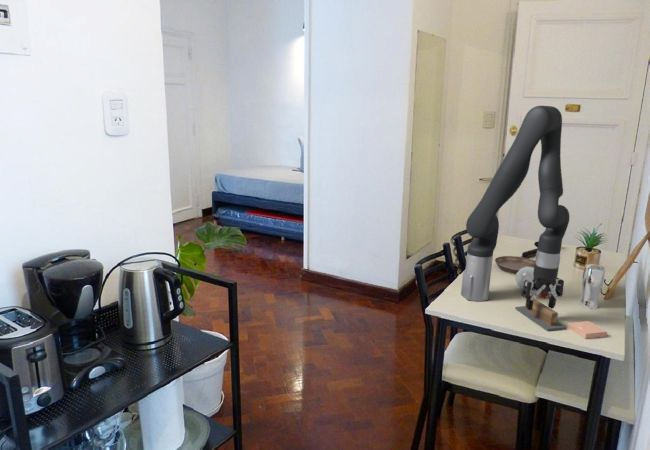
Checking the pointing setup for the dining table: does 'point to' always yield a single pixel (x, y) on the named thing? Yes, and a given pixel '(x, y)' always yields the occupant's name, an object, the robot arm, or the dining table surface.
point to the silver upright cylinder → (592, 285)
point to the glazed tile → (587, 329)
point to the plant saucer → (513, 263)
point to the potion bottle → (527, 278)
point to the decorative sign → (530, 252)
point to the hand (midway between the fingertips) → (540, 308)
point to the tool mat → (540, 322)
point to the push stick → (543, 312)
